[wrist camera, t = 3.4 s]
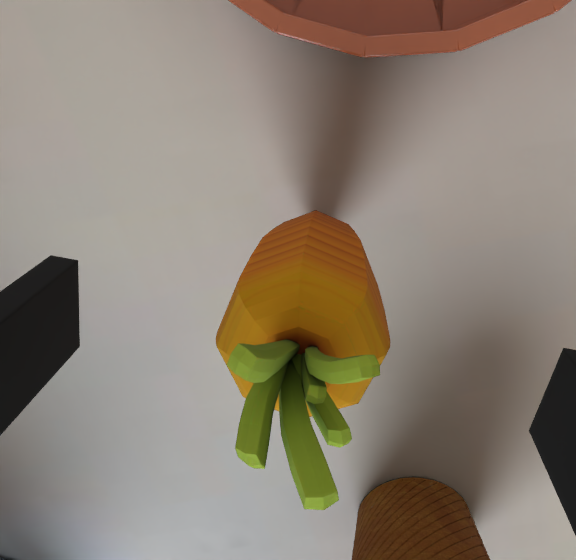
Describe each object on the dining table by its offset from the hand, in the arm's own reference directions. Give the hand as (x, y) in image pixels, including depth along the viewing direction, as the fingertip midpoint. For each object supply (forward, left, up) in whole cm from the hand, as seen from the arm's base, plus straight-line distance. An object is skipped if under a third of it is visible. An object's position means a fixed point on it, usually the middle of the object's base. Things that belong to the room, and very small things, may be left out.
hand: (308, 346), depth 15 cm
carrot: (0, 0, -11) cm, 11 cm away
